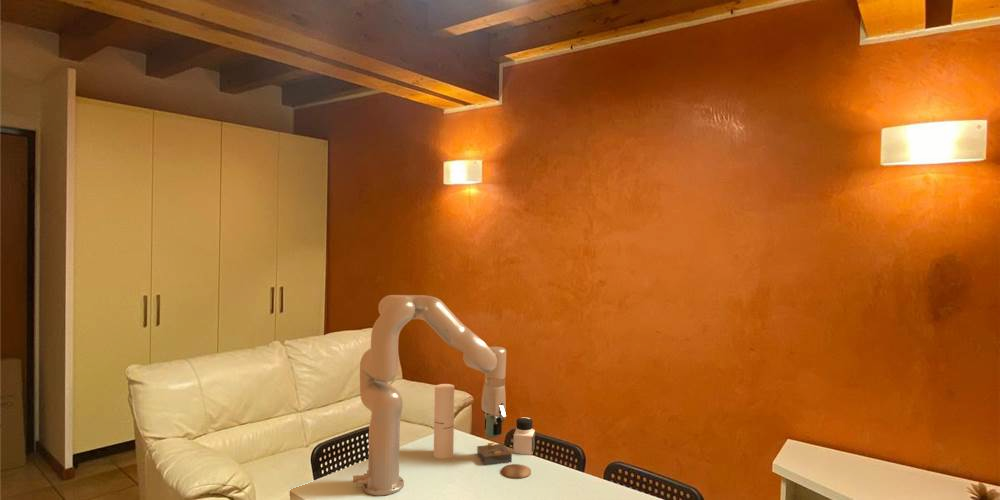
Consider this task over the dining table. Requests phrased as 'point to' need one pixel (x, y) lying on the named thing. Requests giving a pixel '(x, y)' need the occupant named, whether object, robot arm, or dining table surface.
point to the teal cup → (490, 426)
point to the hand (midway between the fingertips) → (492, 431)
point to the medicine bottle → (524, 436)
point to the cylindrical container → (444, 421)
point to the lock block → (494, 454)
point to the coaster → (516, 471)
